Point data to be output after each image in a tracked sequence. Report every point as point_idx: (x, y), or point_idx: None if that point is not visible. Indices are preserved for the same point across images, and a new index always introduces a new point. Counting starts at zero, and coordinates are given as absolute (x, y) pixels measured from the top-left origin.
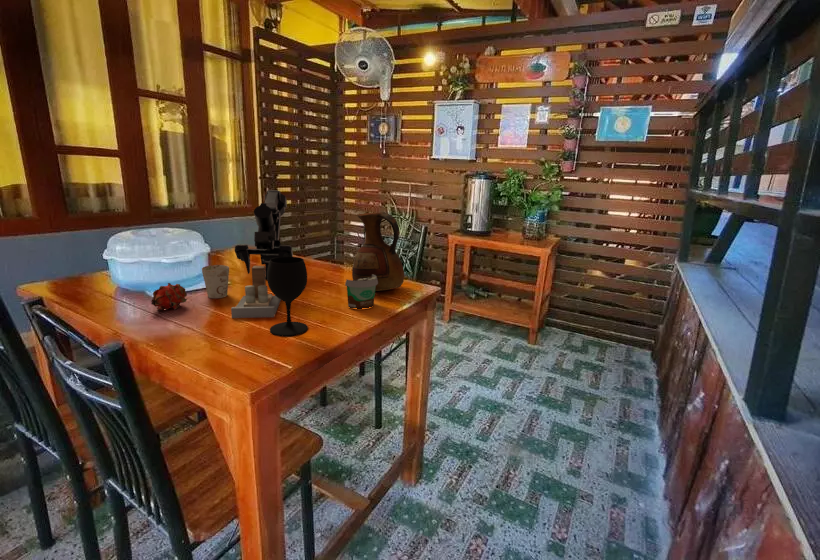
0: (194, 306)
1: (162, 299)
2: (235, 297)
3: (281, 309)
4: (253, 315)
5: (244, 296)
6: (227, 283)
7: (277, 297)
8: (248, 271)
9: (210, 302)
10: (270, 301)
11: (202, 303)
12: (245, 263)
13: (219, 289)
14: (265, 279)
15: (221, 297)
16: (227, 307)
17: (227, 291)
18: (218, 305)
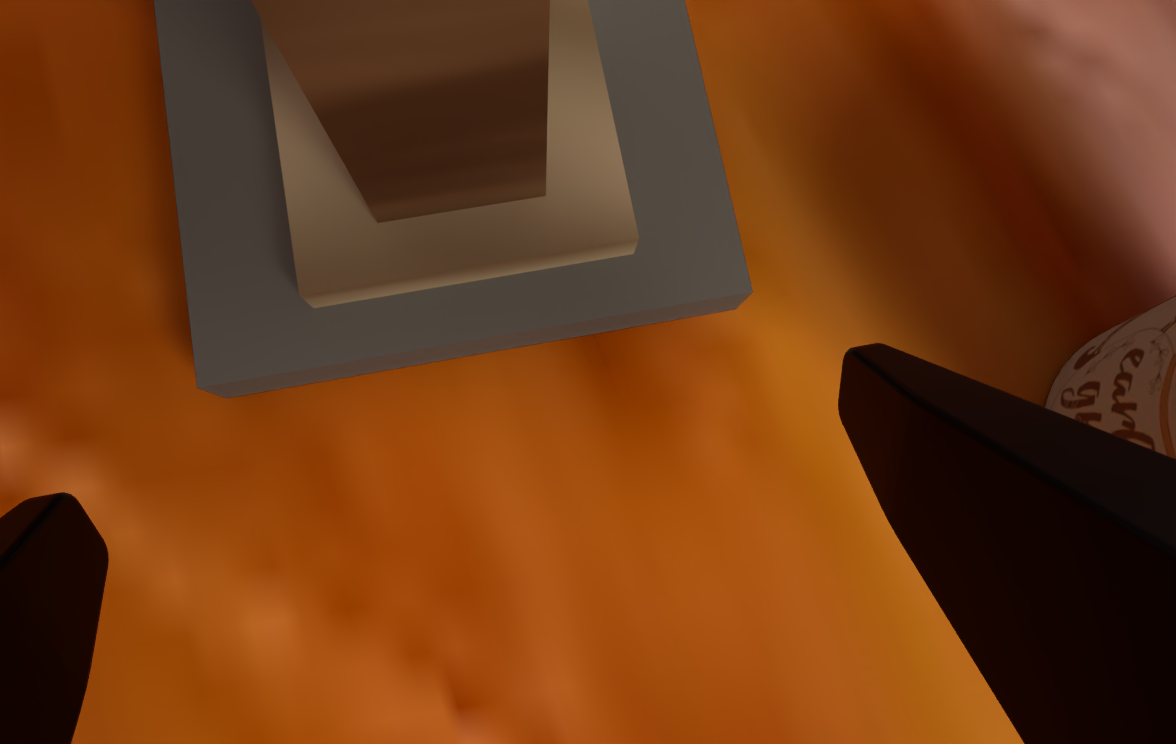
0: (1171, 16)
1: None
2: None
3: (124, 7)
4: None
5: (726, 265)
6: (1171, 438)
7: (223, 277)
8: (863, 348)
9: (1088, 170)
10: None
11: (1153, 124)
12: (1162, 454)
13: (1167, 302)
14: (294, 69)
15: (1066, 364)
16: (801, 17)
17: None
18: (937, 74)
